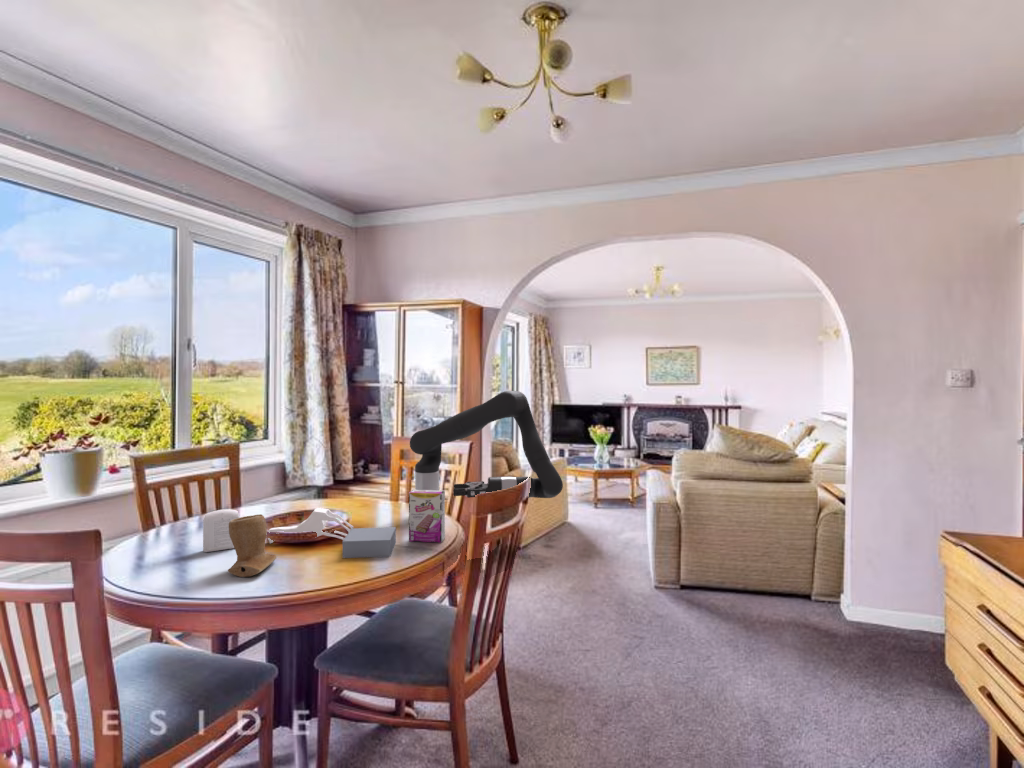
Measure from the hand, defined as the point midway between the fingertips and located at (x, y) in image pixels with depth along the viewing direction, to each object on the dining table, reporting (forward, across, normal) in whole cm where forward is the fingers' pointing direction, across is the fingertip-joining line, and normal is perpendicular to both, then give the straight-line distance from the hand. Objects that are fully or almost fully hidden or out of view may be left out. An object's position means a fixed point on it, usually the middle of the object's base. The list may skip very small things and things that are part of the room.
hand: (453, 489), depth 180 cm
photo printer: (+73, +2, +16) cm, 75 cm away
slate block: (+26, +8, +16) cm, 32 cm away
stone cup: (+57, +22, +16) cm, 63 cm away
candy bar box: (+9, 0, +17) cm, 19 cm away
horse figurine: (+47, -3, +16) cm, 50 cm away
